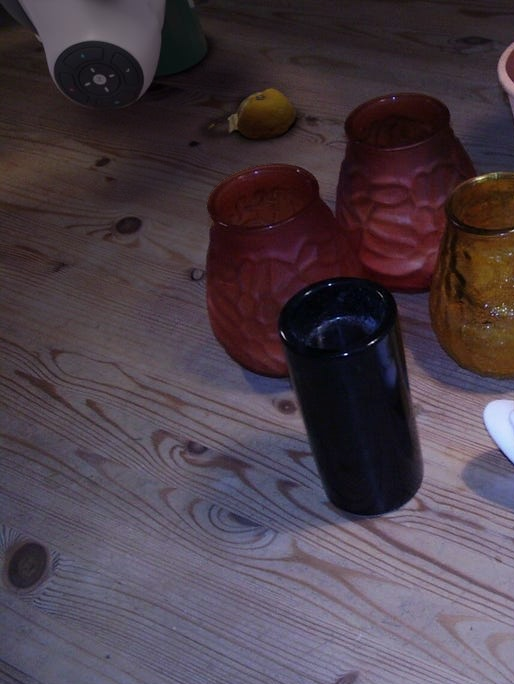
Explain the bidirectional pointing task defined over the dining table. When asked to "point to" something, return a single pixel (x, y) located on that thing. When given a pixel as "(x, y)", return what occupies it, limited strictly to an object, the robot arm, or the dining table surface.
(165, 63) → the holder
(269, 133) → the fruit
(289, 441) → the dining table surface
